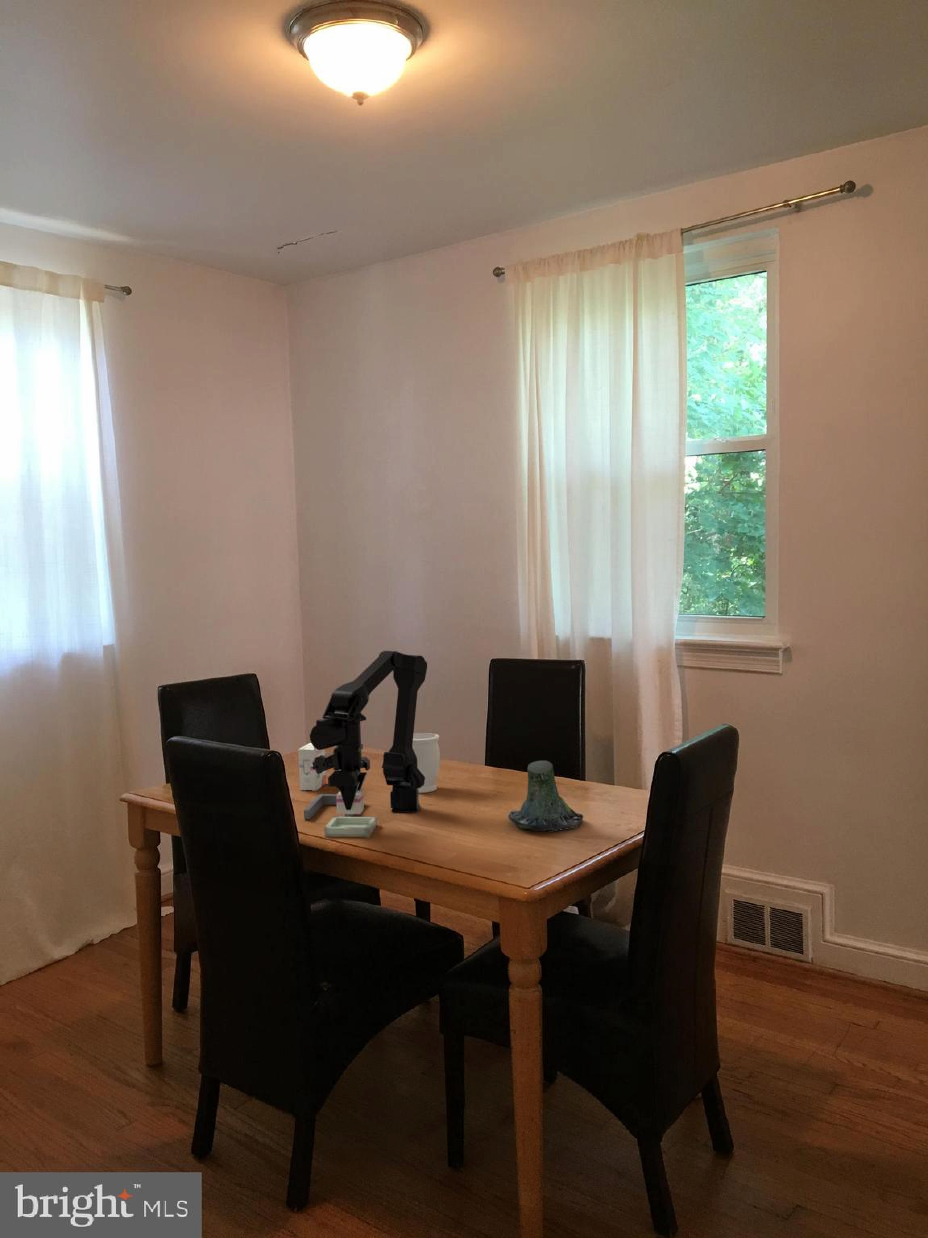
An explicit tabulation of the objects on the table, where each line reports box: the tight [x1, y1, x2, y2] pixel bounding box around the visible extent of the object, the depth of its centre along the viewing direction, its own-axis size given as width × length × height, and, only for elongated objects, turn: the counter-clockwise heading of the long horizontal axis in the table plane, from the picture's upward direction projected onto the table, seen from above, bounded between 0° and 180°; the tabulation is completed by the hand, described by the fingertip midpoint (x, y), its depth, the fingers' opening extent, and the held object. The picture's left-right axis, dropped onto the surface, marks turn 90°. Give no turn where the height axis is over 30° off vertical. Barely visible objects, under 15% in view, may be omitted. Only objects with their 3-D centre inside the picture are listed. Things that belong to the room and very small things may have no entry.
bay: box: [303, 793, 355, 821], centre depth 247 cm, size 11×15×2 cm
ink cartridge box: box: [297, 742, 327, 792], centre depth 273 cm, size 9×5×15 cm, turn 168°
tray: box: [323, 816, 378, 838], centre depth 231 cm, size 10×10×2 cm
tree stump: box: [507, 760, 584, 832], centre depth 233 cm, size 18×20×18 cm
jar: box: [412, 732, 441, 794], centre depth 268 cm, size 11×10×15 cm
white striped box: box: [336, 789, 365, 815], centre depth 230 cm, size 6×4×4 cm
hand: (350, 807), depth 230 cm, fingers closed on white striped box, 4 cm apart
